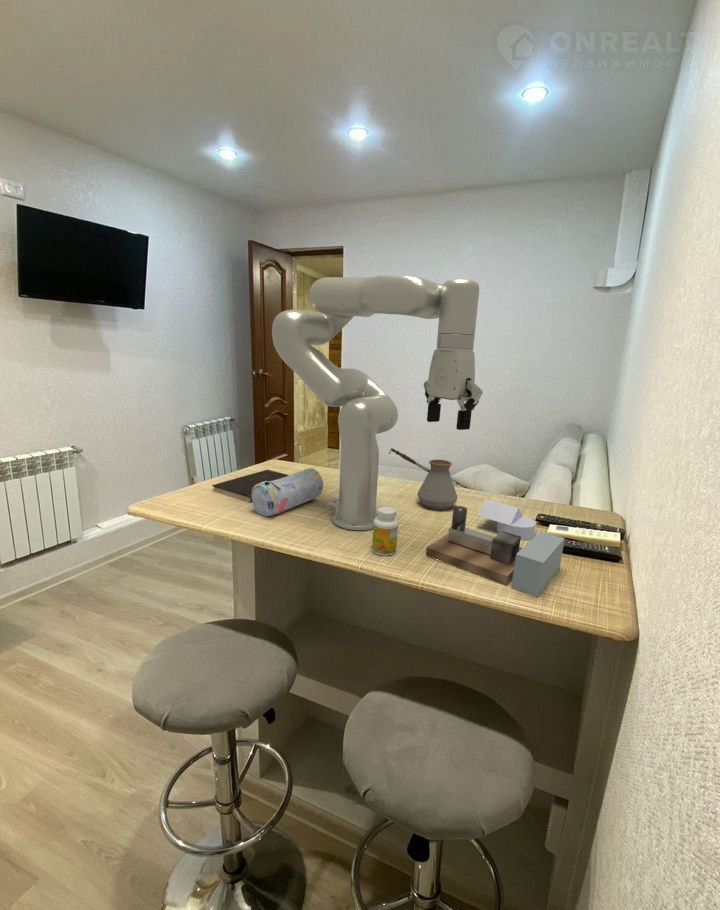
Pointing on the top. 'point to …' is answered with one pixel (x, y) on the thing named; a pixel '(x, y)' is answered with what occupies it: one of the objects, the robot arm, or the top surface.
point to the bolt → (468, 533)
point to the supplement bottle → (385, 532)
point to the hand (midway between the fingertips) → (447, 425)
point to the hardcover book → (246, 484)
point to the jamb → (537, 563)
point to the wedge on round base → (508, 519)
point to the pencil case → (286, 492)
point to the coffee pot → (435, 484)
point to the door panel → (480, 556)
